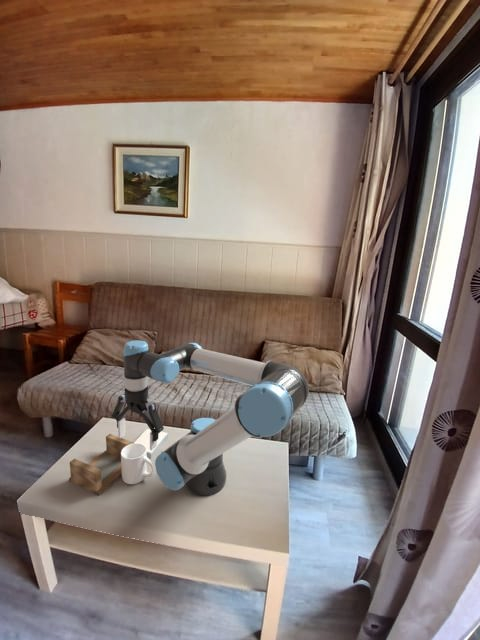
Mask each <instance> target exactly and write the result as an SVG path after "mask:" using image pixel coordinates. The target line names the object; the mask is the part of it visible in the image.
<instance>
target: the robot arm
mask: <svg viewBox="0 0 480 640" xmlns="http://www.w3.org/2000/svg"><path fill="white" fill-rule="evenodd" d="M149 349H150V348H149V344H148V343H147V342H146V341H144V340H138V339H137V340H136V339H135V340H131V341H128V342H127V341H126V342H125V344H124V346H123V355H122V356H123V373H124V375H123V377H124V379H123V380H124V381H123V383H124V384H123V385H124V386H123V387H124V393H123V394H121V395H119V396H118V397H117V399H118V400H117V403H116V405H115V407H114V410H113V411H112V414H111V417H112V419H115V420H116V428H117V429H118V430H117V432H118V435H117V437H119V438H123V437H124V436H126V417H125V416H126V415H127V414H128V413H129V412H132V413H135V414H137V415H139V416H140V417H141V418H143V420H144V422H145V423H146V425H147V426H148V429H150V430H151V431H152V432H150V450H153V449H154V448H155V447H156V446H157V440H158V433H160V432H163V430H164V429H165V428H164V425H163V423H162V420H161V418H160V415H159V413H158V410H157V405H156V403H155V402H151V403H149V402H148V398H149V378H150V379H152V380H153V381H156V382H161V383H164V384H170V383H172V382H173V381H174V380H175V379H176V378H177V377H178V375H179V373H180V372H181V371H183V370H185V369H190V370H193V371H197V372H199V373H200V372H201V373H204V374H208V375H211V376H215V377H217V378H218V377H219V378H221V379H225V380H229V381H233V382H236V383H239V384H242V385H247V386H249V388H247V390H246V391H244V392H243V393H241V395H239V396H238V397H237V398H236V399H235V401H234V402H235V403H234V407H233V408H231V409H229V410H228V411H227V412H226V413H223V414H222V415H221V416H220V417H218V418H217V419H215V418H212V417H200V418H199V417H198V418H196V419H194V420H193V421H192V422H191V424H190V431H189V432H188V433H187V434H186V435H184V436H182V437H181V438H180V439H179V440H177V441H175V442H174V443H172V445H170V446H169V447H168V448H166V449H164V450H162V451H161V452H160V454H159V455H157V457H156V458H155V460H154V464H155V465H154V466H155V471H156V474H157V476H158V478H159V479H160V481H161V482H162V483H163V484H164V486H165V487H167V488H168V489H169V490H171V491H179V490H180V489H181V488H183V487H186V488H187V489H188V491H189V492H191V493H192V494H196V495H199V496H210V495H211V496H212V495H215V494H217V493H219V492H220V491H221V490H222V489H223V488H224V487H225V485H226V482H227V471H226V468H225V464H224V461H223V459H224V457H223V455H224V454H225V453H226V452H228V451H229V450H232V448H234V447H236V446H238V445H239V444H241V443H243V442H244V441H246V440H248V439H249V438H250V439H251V437H253V438H256V439H261V438H267V437H272V436H275V435H277V434H279V432H281V431H282V430H284V429H285V428H286V427H287V426H288V425H289V423H290V421H291V420H292V419H293V418H294V417H295V415H296V414H297V412H298V411H300V409H301V408H302V407H303V406H304V405H305V403H306V402H307V399H308V397H309V393H310V392H309V383H308V380H307V378H306V376H305V375H304V374H303V373H302V372H301V370H299V369H297V368H296V367H295V366H292V365H289V364H285V363H282V362H280V361H279V362H278V361H273V360H268V361H266V362H261V361H258V360H254V359H249V358H243V357H240V356H237V355H236V356H234V355H230V354H227V353H222V352H218V351H214V350H209V349H204V348H203V347H202V346H201V345H199V343H197V342H190V343H186V344H183V345H180V346H178V347H176V348H173V349H170V350H166V351H165V352H161V353H160V354H159V353H156V352H152V351H149ZM125 403H126V405H127V406H125V408H124V405H125ZM123 408H124V409H123ZM144 411H145V412H144Z"/></svg>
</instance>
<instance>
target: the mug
mask: <svg viewBox="0 0 480 640" xmlns="http://www.w3.org/2000/svg"><path fill="white" fill-rule="evenodd" d="M147 464H148V465H149V466H150V467H151V472H149V471H148V469H147V468H148V467H147V466H148V465H147ZM121 470H122V476H121V479H122V481H123V482H124V484H126V485H127V484H128V485H137V484H139V483H141V482H142V481H144V479H146V478H148V477H151V476H152V475H153V473H154V465H153V462H152V460H151V459H149V458H147V449H146V447H145V446H144V445H143V444H140V443H134V444H130V445H127V446H126V447H124V448H123V449H122V451H121Z"/></svg>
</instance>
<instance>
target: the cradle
mask: <svg viewBox="0 0 480 640" xmlns="http://www.w3.org/2000/svg"><path fill="white" fill-rule="evenodd" d="M134 442H135V441H134ZM134 442H133V441H130V440H128V439H125V438H123V437H122V438H119V436H118V435H114V434H113V433H112V434H111V433H109V434H107V435H106V436H105V443H106V449H105V451H103V452H102V453H101V454H99V455H97V457H95V458H94V459H92V460H91V461H90V462H88V463H86V462H83V461H81V460H79V459H77V458H73V459H72V460H70V461H69V472H70V477H69V478H68V480H69V481H68V482H70V483H72V484H74V485H76V486H79V487H81V488H83V489H85V490H87V491H90V492H92V493H94V494H95V495H97V496H101V495H102V494H103V493H105V491H107V490H108V489H109V488H110V487H111V485H113V484H114V483H115V482H116V481H117V480H119V478H121V477H122V470H121V451H122V449H123V448H124V447H126V446H127V445H130V444H134Z"/></svg>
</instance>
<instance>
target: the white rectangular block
mask: <svg viewBox="0 0 480 640" xmlns="http://www.w3.org/2000/svg"><path fill="white" fill-rule="evenodd" d="M150 432H152V431H151V430H150V428H146V430H144V432H143V433H142V434H141V435H139V436H138V438H137V439H135V441H134V443H140V444H143V445H144V446H145V447H146V449H147V458H149V459H150V460H151V459H153V457H154V456H156V454H157V453H158V451H159V450H160V449H161V447H163V445H164V443H166V442H167V440H168V439H169V433H168V432H165V431H161V432H160V433H158V440H157V446H156V447H155V448H154V449H153V450H150Z"/></svg>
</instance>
